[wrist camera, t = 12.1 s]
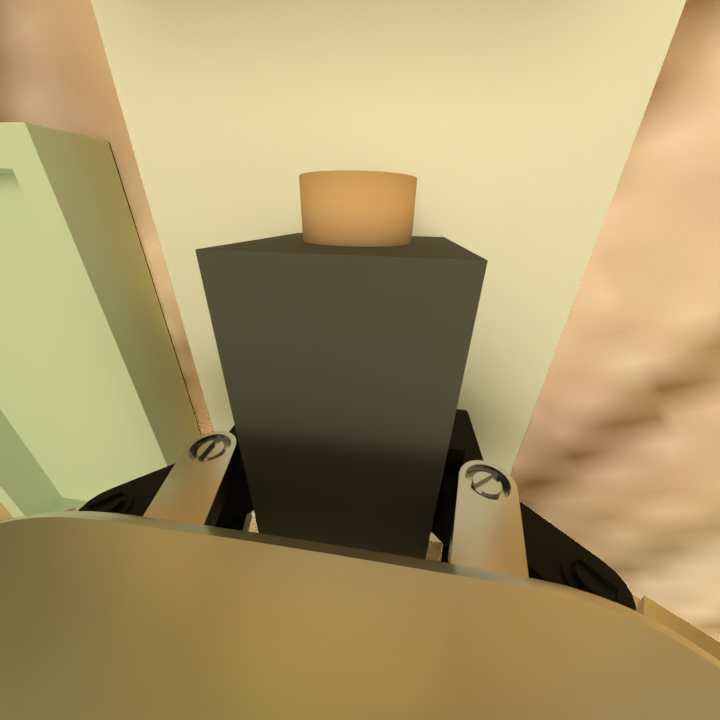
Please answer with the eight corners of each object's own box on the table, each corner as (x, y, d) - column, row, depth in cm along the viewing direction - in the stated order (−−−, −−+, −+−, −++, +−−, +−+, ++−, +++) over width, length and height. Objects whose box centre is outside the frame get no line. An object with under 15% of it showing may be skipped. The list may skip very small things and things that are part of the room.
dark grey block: (404, 522, 14) (404, 659, 10) (318, 510, 15) (282, 636, 10) (450, 189, 8) (509, 156, 3) (295, 187, 8) (174, 156, 4)
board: (479, 533, 16) (482, 548, 16) (244, 502, 18) (237, 515, 17) (853, -545, 4) (944, -696, 3) (17, -366, 6) (-38, -448, 5)
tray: (227, 520, 19) (205, 559, 17) (65, 497, 20) (25, 531, 18) (108, 141, 9) (24, 122, 7) (-182, 143, 11) (-325, 126, 9)
